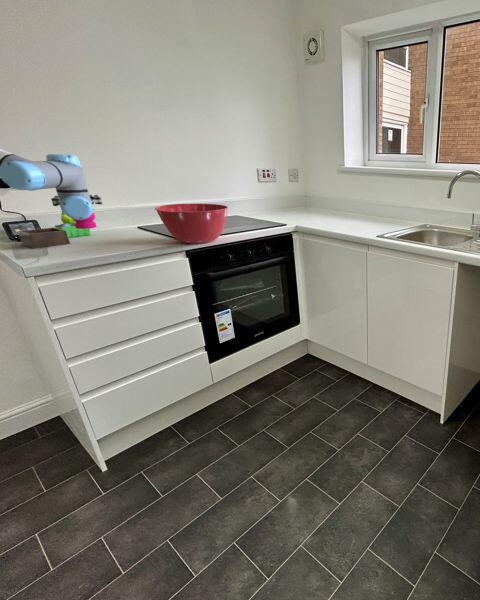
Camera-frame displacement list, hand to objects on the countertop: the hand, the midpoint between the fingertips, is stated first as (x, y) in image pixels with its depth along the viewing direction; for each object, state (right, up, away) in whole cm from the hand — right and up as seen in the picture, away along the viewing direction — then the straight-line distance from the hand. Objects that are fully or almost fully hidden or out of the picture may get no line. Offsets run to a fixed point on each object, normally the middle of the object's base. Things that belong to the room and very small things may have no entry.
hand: (77, 197), depth 136 cm
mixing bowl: (+32, -13, +26) cm, 43 cm away
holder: (-24, -16, +11) cm, 31 cm away
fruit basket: (-27, -10, +28) cm, 40 cm away
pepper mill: (+3, -12, 0) cm, 12 cm away
